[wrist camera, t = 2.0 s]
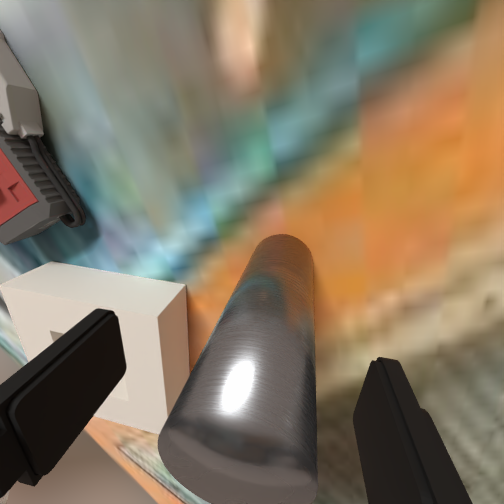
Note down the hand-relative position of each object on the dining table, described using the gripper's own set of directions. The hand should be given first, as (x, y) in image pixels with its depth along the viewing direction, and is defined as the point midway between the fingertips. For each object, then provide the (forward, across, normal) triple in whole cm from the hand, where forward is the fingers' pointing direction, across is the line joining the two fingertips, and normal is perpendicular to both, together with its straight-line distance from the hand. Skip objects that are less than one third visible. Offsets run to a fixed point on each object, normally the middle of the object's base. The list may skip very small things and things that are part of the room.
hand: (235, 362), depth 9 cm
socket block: (+9, +12, +9) cm, 17 cm away
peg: (+9, -1, 0) cm, 9 cm away
